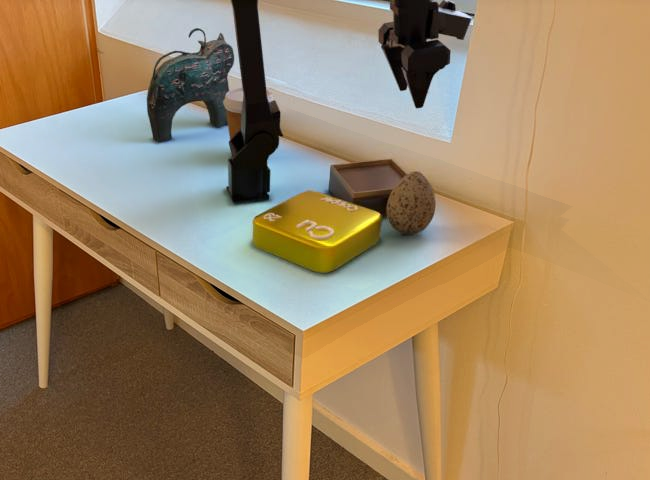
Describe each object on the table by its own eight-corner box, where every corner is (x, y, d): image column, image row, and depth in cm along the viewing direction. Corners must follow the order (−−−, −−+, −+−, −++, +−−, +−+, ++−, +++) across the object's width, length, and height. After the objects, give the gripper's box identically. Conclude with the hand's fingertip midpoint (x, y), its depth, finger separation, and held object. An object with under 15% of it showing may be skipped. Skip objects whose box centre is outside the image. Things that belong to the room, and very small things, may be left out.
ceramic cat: (224, 117, 159) (222, 19, 147) (241, 125, 154) (240, 25, 142) (145, 137, 151) (137, 36, 139) (161, 146, 147) (153, 42, 135)
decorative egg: (438, 230, 113) (449, 169, 107) (418, 248, 108) (428, 185, 102) (396, 218, 116) (404, 159, 110) (375, 235, 112) (382, 174, 106)
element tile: (384, 239, 111) (388, 211, 108) (325, 277, 103) (327, 247, 100) (307, 212, 120) (308, 184, 117) (246, 244, 112) (246, 216, 109)
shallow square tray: (351, 221, 116) (353, 193, 114) (328, 191, 126) (330, 164, 123) (415, 213, 118) (420, 185, 115) (388, 184, 127) (391, 158, 124)
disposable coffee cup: (217, 163, 138) (215, 100, 131) (233, 146, 145) (233, 84, 138) (264, 169, 135) (265, 104, 128) (279, 150, 142) (281, 88, 135)
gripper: (490, -4, 100) (481, 108, 109) (447, -27, 115) (442, 74, 124) (409, 11, 101) (407, 121, 110) (377, -14, 116) (377, 85, 125)
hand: (410, 98), depth 117 cm, fingers open, 9 cm apart
